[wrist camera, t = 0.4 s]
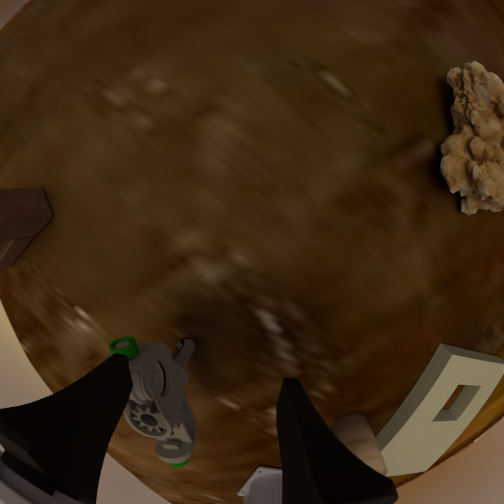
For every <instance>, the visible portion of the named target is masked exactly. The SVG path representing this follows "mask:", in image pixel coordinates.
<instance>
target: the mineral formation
mask: <svg viewBox="0 0 504 504" xmlns="http://www.w3.org/2000/svg"><path fill="white" fill-rule="evenodd" d="M447 82H448V83H449V85H450V86H451V87H452V88H453V94H454V97H455V102H454V104H453V105H452V106H451V109H450V111H451V113H452V118H453V120H454V125H455V129H454V131H453V135H450V136H449V137H447V138H446V140H445V141H444V142H443V144H442V145H441V152H442V154H443V156H444V157H443V158H442V161H441V165H440V167H441V172H442V174H443V176H444V178H445V179H446V181H447V185H448V186H449V188H450V191H451V192H452V193H454V192H456V191H460V194H461V196H465V197H464V199H462V201H461V209H462V212H464V213H466V214H468V215H470V214H474V213H476V212H477V209H482V210H488V209H490V210H491V211H492V212H499V211H501V210H504V84H503V82H502V81H501V79H500V78H499V77H498V76H497V75H495V74H494V73H492V72H487V71H486V70H485V69H484V67H483V65H481V64H479V63H478V62H476V61H473V62H472V63H470V62H468V63H466V64H465V68H464V69H463V70H462V71H461V70H460V68H456V67H455V68H454V69H451V70H450V71H449V73H448V75H447Z"/></svg>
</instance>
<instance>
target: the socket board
mask: <svg viewBox="0 0 504 504" xmlns="http://www.w3.org/2000/svg"><path fill="white" fill-rule="evenodd" d="M503 374H504V361H503V360H502V359H501V358H499V357H497V356H493V355H488V354H484V353H479V352H475V351H471V350H466V349H462V348H458V347H454V346H450V345H446V344H442V343H440V345H439V347H438V348H437V350H436V352H435V354H434V355H433V357H432V359H431V361H430V362H429V364H428V366H427V367H426V369H425V370H424V372H423V374H422V375H421V377H420V378H419V380H418V381H417V383H416V385H415V386H414V387H413V389H412V390H411V392H410V393H409V395H408V396H407V398H406V399H405V400H404V402H403V403H402V405H401V406H400V407H399V409H398V410H397V411H396V413H395V414H394V415H393V417H392V418H391V419H390V420H389V422H388V423H387V424H386V425H385V427H384V428H383V429H382V430H381V431H380V433H379V434H378V435H377V436H376V437H375V439H376V441H377V444H378V446H379V449H380V451H381V454H382V457H383V459H384V462H385V464H386V467H387V469H388V472H387V474H386V475H385V476H394V475H403V474H410V473H417V472H423V471H426V470H427V469H428V468H429V467H430V466H431V465H432V464H433V463H434V462H435V461H436V460H437V459H438V458H439V457H440V456H441V455H442V454H443V453H444V452H445V451H446V450H447V449H448V448H449V447H450V446H451V444H452V443H453V442H454V441H455V440H456V439H457V438H458V437H459V435H460V434H461V433H462V432H463V431H464V429H465V428H466V427H467V426H468V425H469V423H470V422H471V421H472V419H473V418H474V417H475V416H476V414H477V413H478V412H479V410H480V409H481V407H482V406H483V405H484V403H485V402H486V400H487V399H488V398H489V396H490V395H491V393H492V392H493V390H494V388H495V387H496V385H497V384H498V382H499V381H500V379H501V377H502V376H503ZM458 384H461V385H466V386H465V387H464V389H463V390H462V392H461V393H460V395H459V396H458V397H457V399H456V400H455V402H454V403H453V404H452V406H451V407H450V408H449V410H441V408H442V407H443V406H444V404H445V403H446V402H447V400H448V399H449V397H450V396H451V395H452V393H453V392H454V390H455V389H456V387H457V386H458Z"/></svg>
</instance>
